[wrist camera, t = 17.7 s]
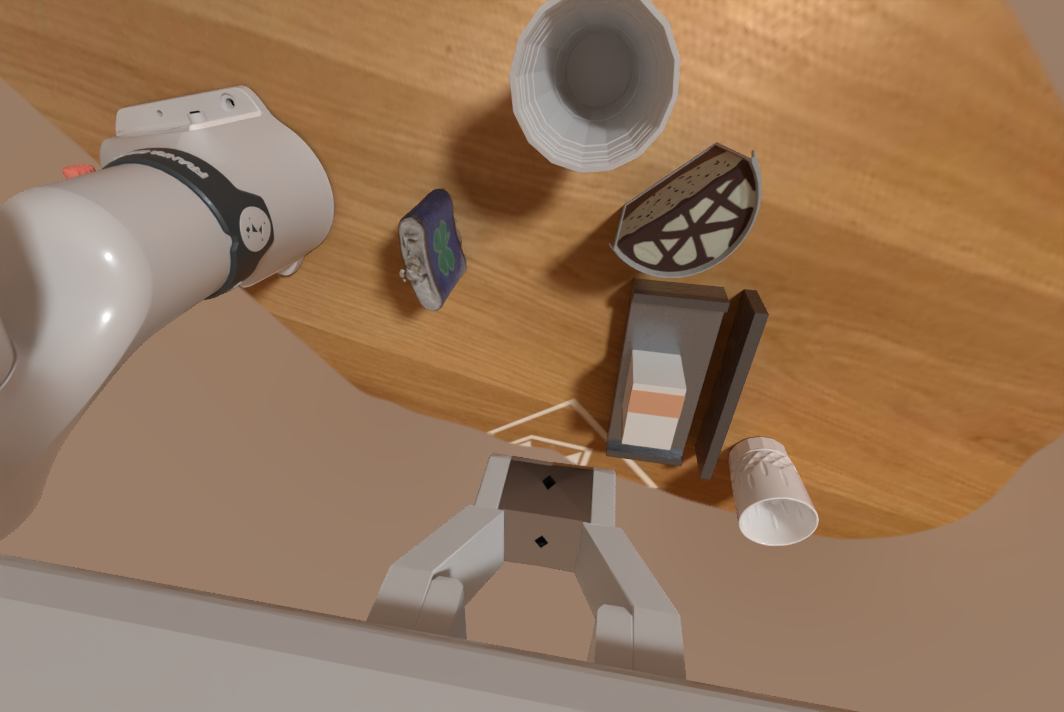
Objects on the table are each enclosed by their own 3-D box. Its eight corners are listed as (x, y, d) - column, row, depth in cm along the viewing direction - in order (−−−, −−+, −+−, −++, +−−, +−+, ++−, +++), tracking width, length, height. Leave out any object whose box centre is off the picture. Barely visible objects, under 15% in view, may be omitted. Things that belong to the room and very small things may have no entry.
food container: (643, 263, 49) (647, 310, 41) (610, 214, 47) (607, 253, 39) (764, 190, 44) (797, 228, 36) (733, 131, 42) (760, 155, 33)
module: (621, 407, 57) (621, 444, 52) (632, 349, 52) (632, 383, 47) (666, 413, 56) (670, 450, 51) (681, 355, 51) (687, 389, 47)
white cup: (728, 482, 64) (743, 549, 56) (718, 437, 60) (733, 502, 52) (794, 474, 61) (821, 542, 53) (788, 427, 58) (816, 493, 49)
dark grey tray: (606, 436, 63) (605, 464, 58) (633, 278, 50) (634, 300, 46) (704, 449, 61) (710, 479, 57) (756, 290, 49) (768, 314, 45)
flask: (470, 273, 53) (439, 321, 44) (444, 274, 53) (408, 323, 45) (450, 185, 48) (411, 220, 39) (422, 188, 49) (377, 223, 40)
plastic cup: (585, 168, 45) (574, 207, 35) (510, 62, 41) (474, 71, 32) (692, 85, 40) (715, 103, 30) (618, -44, 37) (617, -72, 27)
